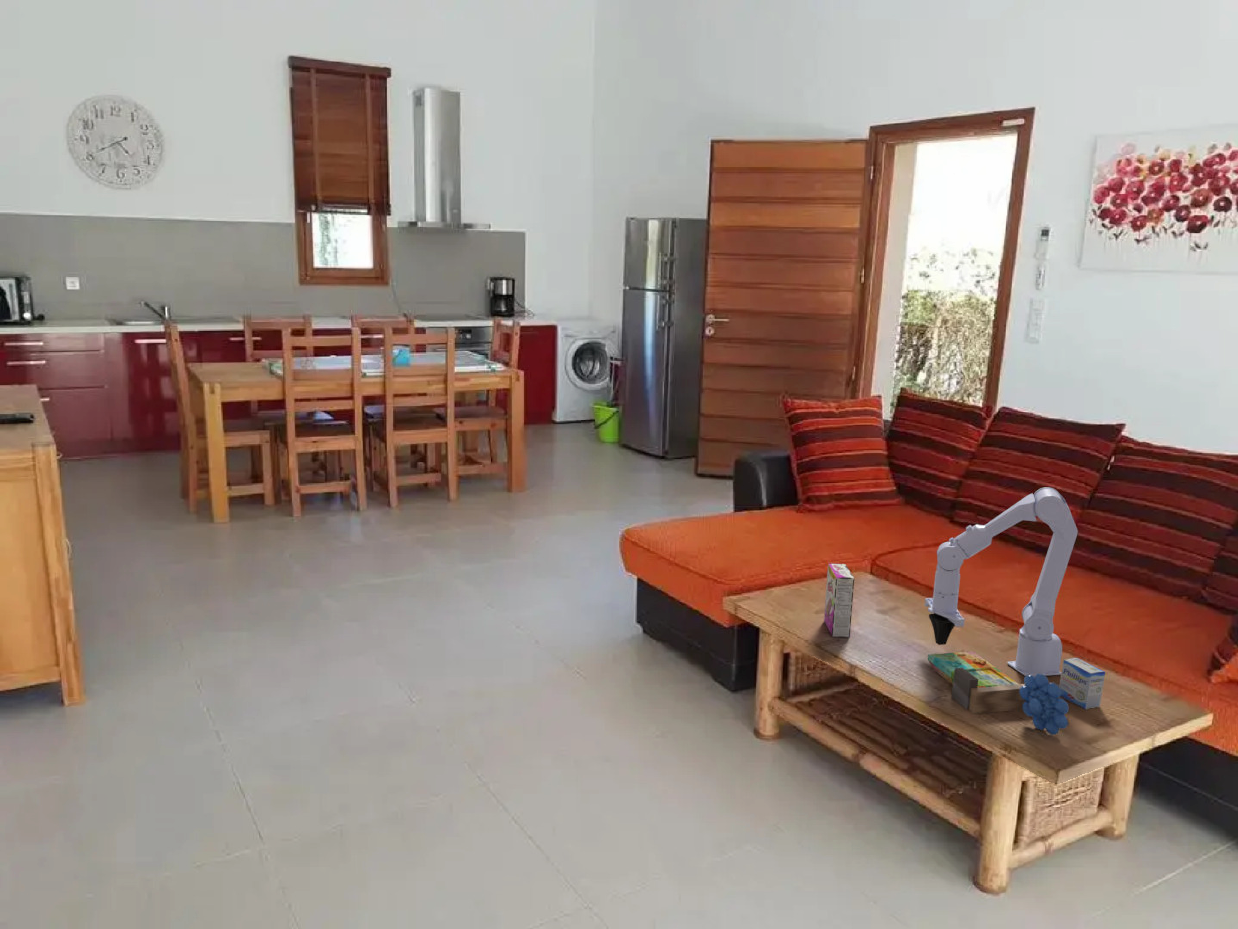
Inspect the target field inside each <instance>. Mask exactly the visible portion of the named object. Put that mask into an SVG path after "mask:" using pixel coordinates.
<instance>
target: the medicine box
mask: <svg viewBox="0 0 1238 929" xmlns="http://www.w3.org/2000/svg"><path fill="white" fill-rule="evenodd" d="M1105 676H1106V671H1105V670H1102V669H1100V668H1097V667H1096V666H1094V665H1092V664H1090V663H1088V662H1086V661H1085V660H1082V659H1080V658H1078V657H1072V658H1066V659H1063V663H1062V668H1061V675H1060V680H1059V685H1058V686H1059V687H1060V690H1061V696H1062V697H1061V696H1060V697H1061V698H1062V699H1064V700H1067V699H1068V700H1067V701H1069V700H1070V701H1069V702H1070V703H1072V704H1074V703H1075V705H1076V704H1077V706H1078V705H1079V707H1080V706H1081V708H1082V709H1084V710H1090V709H1089V708H1092V709H1096V708H1095V707H1097V708H1100V707H1101V702H1102V695H1103V689H1104V683H1105ZM1099 706H1100V707H1099Z"/></svg>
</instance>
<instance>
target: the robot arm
mask: <svg viewBox="0 0 1238 929" xmlns="http://www.w3.org/2000/svg"><path fill="white" fill-rule="evenodd" d="M1036 517H1037V518H1038V519H1039V520H1040V521H1042V522H1043V523H1045V524H1047V525H1048V526H1049V528H1050V529H1051V531H1052V532H1053V533H1052V535H1051V536H1052V537H1051V540H1050V543H1049V547H1048V549H1047V553H1046V555H1045V559H1044V562H1043V565H1042V569H1041V572H1040V575H1039V578H1038V581H1037V584H1036V588H1035V590H1034V593H1033V594H1032V595H1031V597H1030V600H1029V602H1028V603H1027V604H1026V605H1025V606H1024V607H1023V608H1022V612H1021V618H1022V620H1023V623H1024V624H1023V626H1022V627H1021V628H1019V633H1018V641H1017V648H1016V649H1017V650H1016V658H1015V660H1013V661H1012V660H1011V661H1007V665H1009V666H1010V667H1011V668H1013V669H1014V670H1016V671H1017V672H1019V673H1020V674H1022V675H1023V676H1024V677H1026V676H1027V675H1032V676H1034V677H1035V676H1036V675H1037V674H1043V675H1045V676H1046V677H1048V676H1059V675H1060V676H1061V673H1062V671H1061V670H1060V667H1061V662H1062V661H1061V660H1062V654H1063V643H1062V641H1061V638H1060V637H1059V636H1058V635H1057V634H1055V633H1054V629H1055V626H1054V622H1053V620H1054V616H1055V611H1056V610H1055V608H1056V602H1057V598H1058V595H1059V593H1060V589H1061V586H1062V583H1063V579H1064V576H1065V574H1066V570H1067V568H1068V564H1069V561H1070V558H1071V555H1072V551H1073V549H1074V545H1075V542H1076V539H1077V536H1078V532H1079V530H1078V528H1077V526H1076V522H1075V520H1074V517H1073V515H1072V513H1071V509H1070V508H1069V506H1068V503H1067V501H1066V499H1065V498H1064V497H1063V495H1062V494H1060V493H1059V491H1057V489H1055V488H1053V487H1049V486H1048V487H1047V486H1046V487H1041V488H1039V489H1038V490H1036V491H1035V492H1034V494H1033V492H1032V493H1029V494H1028V495H1026V496H1025V497H1023V498H1021V500H1019V501H1017V502H1016V503H1014V504H1013V505H1012V506H1010V507H1009V508H1008V509H1006V510H1004V511H1003V512H1002V513H1000V514H999V515H997V516H995V517H994V518H993V519H991V520H989V522H988V523H986V524H984V525H983V524H975V525H971V524H969V525H967V526H966V527H965V531H963V532H962V533H961V534H959V535H957V536H955V537H950V538H949V539H948V541H946V542H943V543H941V544H940V545H939V546H938V548H937V550H936V559H937V563H936V568H935V569H936V571H935V572H934V574H935V575H934V585H933V595H932V597H926V598H924V606H925V607H927V611H928V612H929V613H930V614H928V618H929V620H930V622H931V626H932V628H933V634H934V641H935V644H937V645H938V646H941V645H946V644H947V643H948V640H949V637H950V636H951V635H950V634H951V633H952V631H953V629H955V628H962V627H965V619H966V618H964V617H963V616H962V615H961V613H960V611H959V610H958V601H959V590H960V583H961V582H960V581H961V573H960V571H961V567H962V565H963V564H964V561H965V560H968V559H970V558H972V557H973V556H975V555H976V554H978V553H979V552H981V551H983V550H984V549H986V548H988V547H989V546H991V545H992V541H993V540H992V539H993V537H996V536H998V535H999V534H1000V533H1002V532H1004V531H1005V530H1007V529H1009V528H1011V527H1013V526H1015V525H1016V524H1019V523H1020V522H1022V521H1026V522H1027V521H1028V522H1029V521H1030V522H1037V518H1036Z"/></svg>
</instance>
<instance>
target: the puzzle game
mask: <svg viewBox="0 0 1238 929" xmlns="http://www.w3.org/2000/svg"><path fill="white" fill-rule="evenodd" d="M927 661H928V663H929V665H930V666H931V668H932V669H933V670H934V671H935V672H936V673H937V674H939V675H940V676H941V677H943V678H944V679H945V680H946V681H948V683H950V684H951V685H953V680H954V671H955V668H964V669H965V670H967V671H968V672H969V673H971V674H972V675H973V676H975V677H976V678H977V679H978V687H977V688H981V687H993V686H1005V685H1017V684H1019V683H1018V682H1016V681H1015V680H1014V679H1012V678H1011V677H1010V676H1008V675H1007V674H1005V673H1004V672H1003V671H1001V670H1000V669H999V668H997V667H995V666H994V665H993V664H991V663H990V662H989V661H987V660H986V659H984V658H983V657H981V656H980V655H979V654H978V653H976V652H975V651H960V652H959V651H958V652H946V653H933V654H930V653H929V654H927Z"/></svg>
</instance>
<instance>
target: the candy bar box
mask: <svg viewBox="0 0 1238 929" xmlns="http://www.w3.org/2000/svg"><path fill="white" fill-rule="evenodd" d="M854 586H855V577H854V575H853V574H852V572H851V571H850V569H849V568H848V566H847V564H845V563H827V573H826V590H825V602H824V603H825V605H824V615H823V617H824V618H823V621H824V624H825V625H826V627H827V629H828V631H829V633H830V635H831V637H832V638H850V637H851V626H852V614H853V600H854V589H855V588H854Z"/></svg>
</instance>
